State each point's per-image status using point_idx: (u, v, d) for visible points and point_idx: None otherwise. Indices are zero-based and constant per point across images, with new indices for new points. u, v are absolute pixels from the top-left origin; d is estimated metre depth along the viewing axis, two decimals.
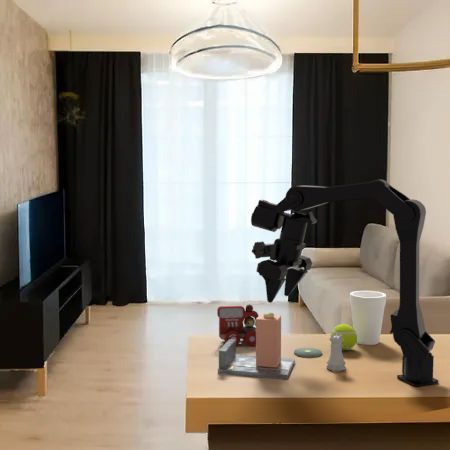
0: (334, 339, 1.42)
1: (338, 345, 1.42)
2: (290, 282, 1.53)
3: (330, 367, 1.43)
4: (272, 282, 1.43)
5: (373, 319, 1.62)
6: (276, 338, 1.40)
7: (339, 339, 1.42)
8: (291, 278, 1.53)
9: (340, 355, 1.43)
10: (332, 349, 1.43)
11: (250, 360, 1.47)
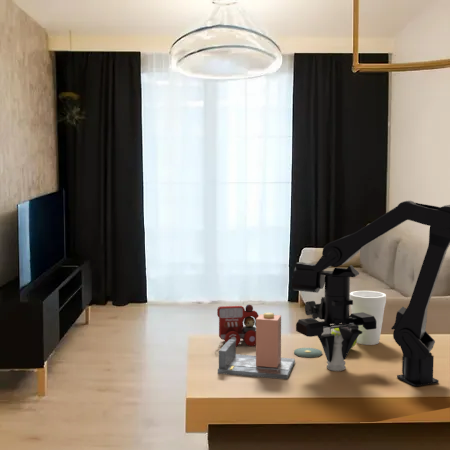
0: (334, 339, 1.42)
1: (338, 345, 1.42)
2: (344, 344, 1.44)
3: (330, 367, 1.43)
4: (325, 340, 1.42)
5: None
6: (276, 338, 1.40)
7: (339, 339, 1.42)
8: (344, 340, 1.44)
9: (340, 355, 1.43)
10: None
11: (250, 360, 1.47)
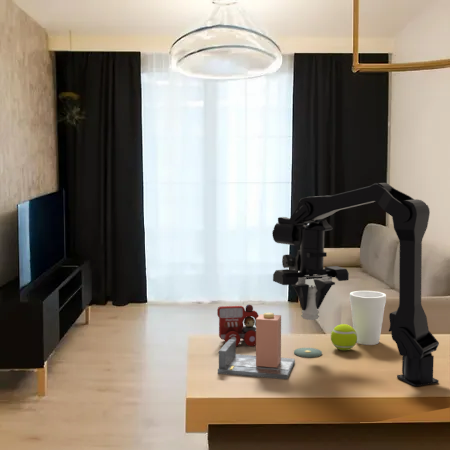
0: (308, 289, 1.51)
1: (312, 295, 1.52)
2: (318, 294, 1.53)
3: (304, 316, 1.52)
4: (300, 290, 1.51)
5: (373, 319, 1.62)
6: (276, 338, 1.40)
7: (313, 289, 1.51)
8: (318, 290, 1.53)
9: (314, 305, 1.52)
10: None
11: (250, 360, 1.47)
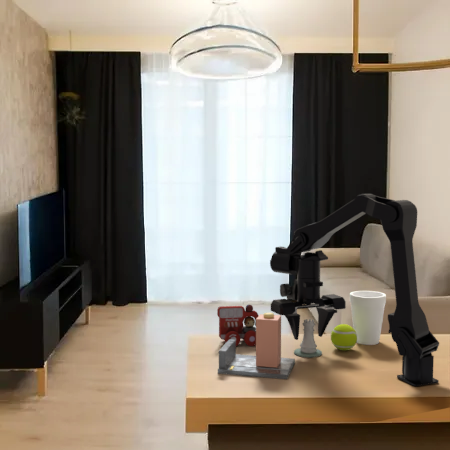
0: (306, 324, 1.54)
1: (310, 329, 1.54)
2: (321, 322, 1.56)
3: (302, 350, 1.55)
4: (292, 319, 1.53)
5: (373, 319, 1.62)
6: (276, 338, 1.40)
7: (311, 324, 1.54)
8: (321, 318, 1.56)
9: (312, 339, 1.54)
10: (304, 333, 1.55)
11: (250, 360, 1.47)
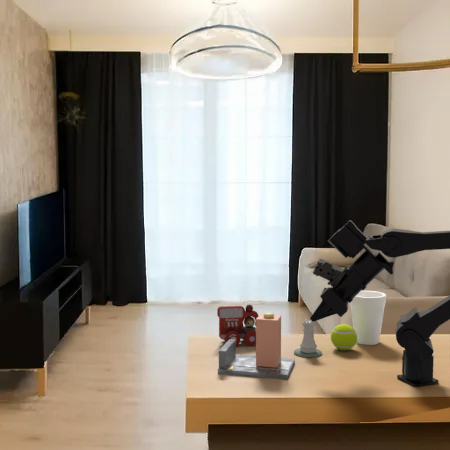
0: (306, 324, 1.54)
1: (310, 329, 1.54)
2: None
3: (302, 349, 1.55)
4: (327, 306, 1.38)
5: (373, 319, 1.62)
6: (276, 338, 1.40)
7: (311, 324, 1.54)
8: None
9: (312, 339, 1.54)
10: (304, 333, 1.55)
11: (250, 360, 1.47)
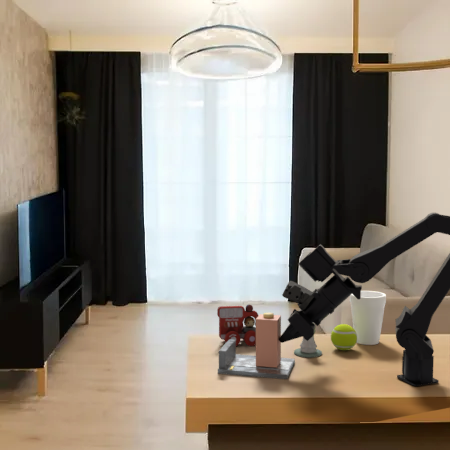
0: None
1: None
2: None
3: (302, 349, 1.55)
4: (295, 328, 1.40)
5: (373, 319, 1.62)
6: (276, 338, 1.40)
7: None
8: None
9: (312, 339, 1.54)
10: None
11: (250, 360, 1.47)
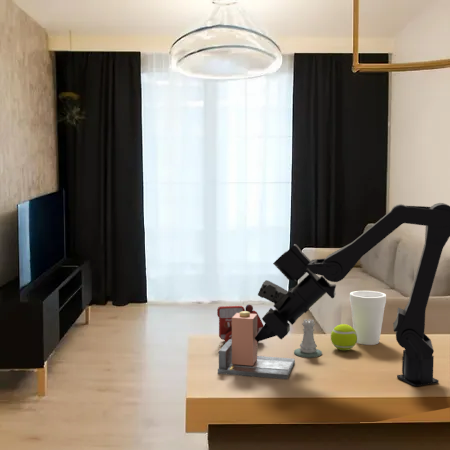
0: (306, 323, 1.54)
1: (309, 329, 1.54)
2: None
3: (302, 349, 1.55)
4: None
5: (373, 319, 1.62)
6: (251, 336, 1.42)
7: (310, 324, 1.54)
8: None
9: (311, 338, 1.54)
10: (304, 333, 1.55)
11: None
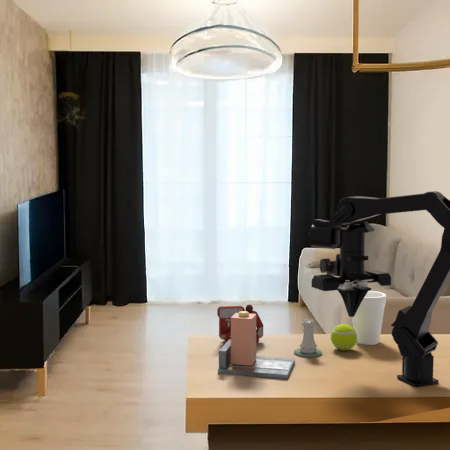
0: (306, 324, 1.54)
1: (309, 329, 1.54)
2: None
3: (302, 349, 1.55)
4: (347, 295, 1.43)
5: (373, 319, 1.62)
6: (250, 336, 1.42)
7: (310, 324, 1.54)
8: None
9: (311, 339, 1.54)
10: (304, 333, 1.55)
11: None
